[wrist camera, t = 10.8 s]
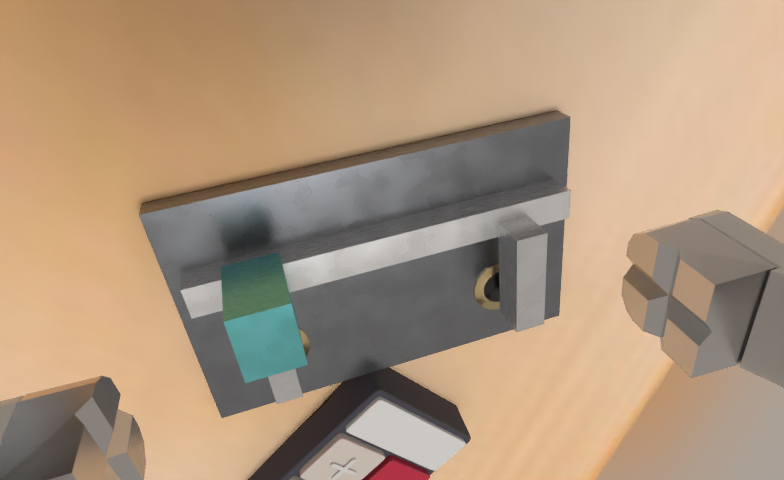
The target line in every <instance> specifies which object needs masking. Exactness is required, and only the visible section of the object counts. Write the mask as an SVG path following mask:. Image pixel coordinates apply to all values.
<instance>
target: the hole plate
mask: <svg viewBox="0 0 784 480" xmlns="http://www.w3.org/2000/svg"><path fill="white" fill-rule="evenodd" d="M569 133H570V117H569V116H567V115H565V114H563V113H561V112H559V111H553V112H549V113H545V114H540V115H536V116H531V117H527V118H522V119H518V120H513V121H509V122H504V123H500V124H495V125H491V126H486V127H482V128H477V129H473V130H468V131H464V132H459V133H455V134H451V135H446V136H442V137H437V138H433V139H428V140H424V141H419V142H415V143H410V144H406V145H401V146H397V147H392V148H388V149H383V150H379V151H374V152H370V153H365V154H361V155H356V156H352V157H348V158H343V159H339V160H334V161H330V162H325V163H321V164H316V165H312V166H307V167H303V168H298V169H294V170H289V171H285V172H280V173H276V174H271V175H267V176H262V177H258V178H254V179H249V180H245V181H240V182H236V183H231V184H227V185H222V186H218V187H213V188H209V189H204V190H200V191H195V192H191V193H186V194H182V195H177V196H173V197H168V198H164V199H160V200H155V201H151V202H146V203H142V205H141V209H140V213H139V216H140V219H141V221H142V223H143V226H144V228H145V231H146V233H147V236H148V238H149V241H150V243H151V246H152V248H153V250H154V253H155V255H156V258H157V260H158V263H159V265H160V268H161V270H162V273H163V275H164V277H165V280H166V282H167V285H168V287H169V290H170V292H171V295H172V297H173V300H174V302H175V304H176V307H177V309H178V312H179V314H180V317H181V319H182V322H183V324H184V327H185V329H186V331H187V334H188V336H189V339H190V341H191V344H192V346H193V349H194V351H195V354H196V356H197V358H198V361H199V363H200V366H201V368H202V371H203V373H204V376H205V378H206V381H207V383H208V385H209V388H210V390H211V393H212V395H213V398H214V400H215V403H216V405H217V407H218V410H219V412H220V415H221V417H222V418H224V417H227V416H230V415H234V414H237V413H240V412H243V411H247V410H250V409H253V408H257V407H260V406H263V405H266V404H270V403H273V402H276V400H275V397H274V394H273V391H272V388H271V385H270V382H269V379H268V377H265V378H262V379H258V380H255V381H251V382H248V383H245V381H244V378H243V375H242V373H241V370H240V367H239V364H238V361H237V359H236V356H235V353H234V350H233V347H232V345H231V342H230V339H229V336H228V333H227V331H226V328H225V325H224V322H223V304H222V284H221V267H222V266H226V265H230V264H234V263H238V262H242V261H246V260H250V259H254V258H258V257H262V256H266V255H269V254H273V253H277V252H279V253H280V256H281V260H282V264H283V268H284V272H285V275H286V279H287V283H288V287H289V290H290V294H291V298H292V302H293V306H294V309H295V313H296V318H297V322H298V326H299V330H300V334H301V338H302V343H303V347H304V351H305V355H306V359H307V363H308V365H306V366H302V367H299V368H297V371H298V375H299V379H300V384H301V389H302V393H306V392H309V391H312V390H316V389H319V388H322V387H326V386H329V385H332V384H335V383H339V382H342V381H345V380H349V379H352V378H355V377H358V376H362V375H365V374H368V373H372V372H375V371H378V370H381V369H385V368H388V367H391V366H395V365H398V364H401V363H404V362H408V361H411V360H414V359H418V358H421V357H424V356H427V355H431V354H434V353H437V352H440V351H444V350H447V349H450V348H454V347H457V346H460V345H463V344H467V343H470V342H473V341H477V340H480V339H483V338H486V337H490V336H493V335H496V334H500V333H503V332H506V331H509V330H513V329H514V330H515V331H516V332H519V331H522V330H525V329H529V328H532V327H535V326H538V325H542V324H544V320H546V319H549V318H552V317H555V316H559V308H560V290H561V273H562V255H563V238H564V220H565V219H567V218H569V210H570V193H571V190H569V189H568V188H566V185H567V168H568V150H569Z"/></svg>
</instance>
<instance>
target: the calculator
mask: <svg viewBox="0 0 784 480" xmlns="http://www.w3.org/2000/svg"><path fill="white" fill-rule="evenodd" d="M470 439H471V437H470V435H469V432H468V430H467V428H466V426H465V424H464V421H463V419H462V417H461V415H460V413H459V411H458V408H457V406H456V405H454V404H453V403H451V402H449V401H447V400H445V399H444V398H442V397H440V396H438V395H437V394H435V393H433V392H431V391H430V390H428V389H426V388H424V387H422V386H421V385H419V384H417V383H415V382H414V381H412V380H410V379H408V378H406V377H405V376H403V375H401V374H399V373H398V372H396V371H394V370H392V369H391V368H389V367H388V368H385V369H381V370H378V371H375V372H372V373H368V374H365V375H362V376H358V377H355V378H352V379H349V380H345V381H343V382H342V383H341V384H340V385H339V387H338V388H337V389H336V390H335V391H334V392H333V393H332V394H331V396H330V398H329V400H328V401H327V402H326V403H325V404H324V405H323V406H322V407H321V408H320V409H319V410H318V411H317V412H316V413H315V414H314V415H313V416H311V417H310V418H309V419H308V420H307V421H306V422H305V423H304V424H303V425H302V426H301V427H300V428H299V429H298V430H297V431H296V432H295V433H294V434H293V435H292V436H291V437H289V438H288V439H287V440H286V441H285V442H284V443H283V444H282V445H281V446H280V447H279V448H278V449H277V451H276V452H275V453H274V454H273V455H272V456H271V457H270V458H269V459H268V460H267V461H266V462H265V463H264V464H263V465H262V466H261V467H260V468H259V469H258V470H257V471H256V472H255V473H254V474H253V475H252V476H251V477H250V478H249V479H248V480H428V479H429V478H430V476H429V475H431V474H432V473H433V472H434V471H435V470H437V469H438V468H439V467H441V466H442V465H443V464H444V463H445V462H447V461H448V460H449V459H450V458H451V457H452V456H454V455H455V454H456V453H457V452H458V451H459V450H461V449H462V448H463V447H464V446H465V445H466V444H467V443H468V442H469V441H470Z"/></svg>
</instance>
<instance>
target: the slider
mask: <svg viewBox="0 0 784 480" xmlns="http://www.w3.org/2000/svg"><path fill="white" fill-rule="evenodd" d="M221 284H222V304H223V322H224V325H225V328H226V331H227V333H228V336H229V339H230V342H231V345H232V347H233V350H234V353H235V356H236V359H237V361H238V364H239V367H240V370H241V373H242V375H243V378H244V381H245V383H248V382H251V381H255V380H258V379H262V378H265V377H268V379H269V382H270V385H271V388H272V391H273V394H274V397H275V400H276V403H277V404H279V403H283V402H286V401H289V400H293V399H296V398H299V397H302V396H303V393H302V389H301V384H300V379H299V375H298V371H297V368H299V367H302V366H306V365H308V363H307V359H306V355H305V351H304V347H303V343H302V338H301V334H300V330H299V326H298V322H297V318H296V313H295V309H294V306H293V302H292V298H291V294H290V290H289V287H288V283H287V279H286V275H285V272H284V268H283V264H282V260H281V256H280V253H279V252H277V253H273V254H269V255H266V256H262V257H258V258H254V259H250V260H246V261H242V262H238V263H234V264H230V265H226V266H222V267H221Z"/></svg>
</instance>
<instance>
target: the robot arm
mask: <svg viewBox="0 0 784 480" xmlns="http://www.w3.org/2000/svg"><path fill="white" fill-rule="evenodd" d="M626 256H627V257H628V259H629V260H630V261H631V262H632V264H633V265H632V266H631V268H630V269H629V271H628V272H627V273H626V275H625V276H624V277H623V285H622V297H623V300H624V304H625V307H626V310H627V312H628V313H629V315H630V317H631V318H632V320H633V321H634V322H635V323H636V324H637V325H638V326H639V327H640V328H641V329H642V330H643V331H645V332H647V333H650V334H653V335H655V336H658V337H660V338H661V349H662V350H663V351H664V352H665V353H666V354H667V355H668V356H669V357H670V358H671V359H672V360H673V361H674V362H675V363H676V364H677V365H678V366H679V367H680V368H681V369H682V370H683V371H684V372H685V373H686V374H687V375H688V376H689V377H690V378H693V377H697V376H700V375H704V374H707V373H710V372H714V371H717V370H720V369H724V368H728V367H731V366H735V365H738V364H740V367H741V368H743V369H745V370H748V371H750V372H752V373H754V374H756V375H758V376H760V377H762V378H765V379H767V380H769V381H771V382H773V383H775V384H777V385H780V386H782V387H784V244H782V243H781V242H779V241H777V240H776V239H774V238H772V237H771V236H769V235H767V234H765V233H764V232H762V231H760V230H759V229H757V228H755V227H753V226H752V225H750V224H748V223H747V222H745V221H743V220H741V219H740V218H738V217H736V216H735V215H733V214H731V213H729V212H726V211H720V210H715V211H712V212H708V213H705V214H702V215H698V216H695V217H691V218H689V219H688V220H683V221H680V222H676V223H672V224H669V225H665V226H662V227H658V228H654V229H651V230H647V231H643V232H640V233H636V234H634V235H633V236H632V238H631V239H630V241H629V243H628V249H627V255H626ZM119 399H120V393H119V391H118V389H117V388H116V386H115V385H114V383H113V382H112V380H111V378H108V377H104V376H99V377H95V378H91V379H87V380H83V381H79V382H75V383H71V384H67V385H63V386H59V387H55V388H51V389H46V390H42V391H38V392H34V393H30V394H27V395H25V396H20V397H16V398H12V399H8V400H4V401H0V480H144V474H145V465H146V459H145V449H144V441H143V438H142V435H141V432H140V428H139V426H138V424H137V422H136V421H135V419H134V417H133V415H131V414H128V413H126V412H124V411H121V410H119V409H118V404H119Z"/></svg>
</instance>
